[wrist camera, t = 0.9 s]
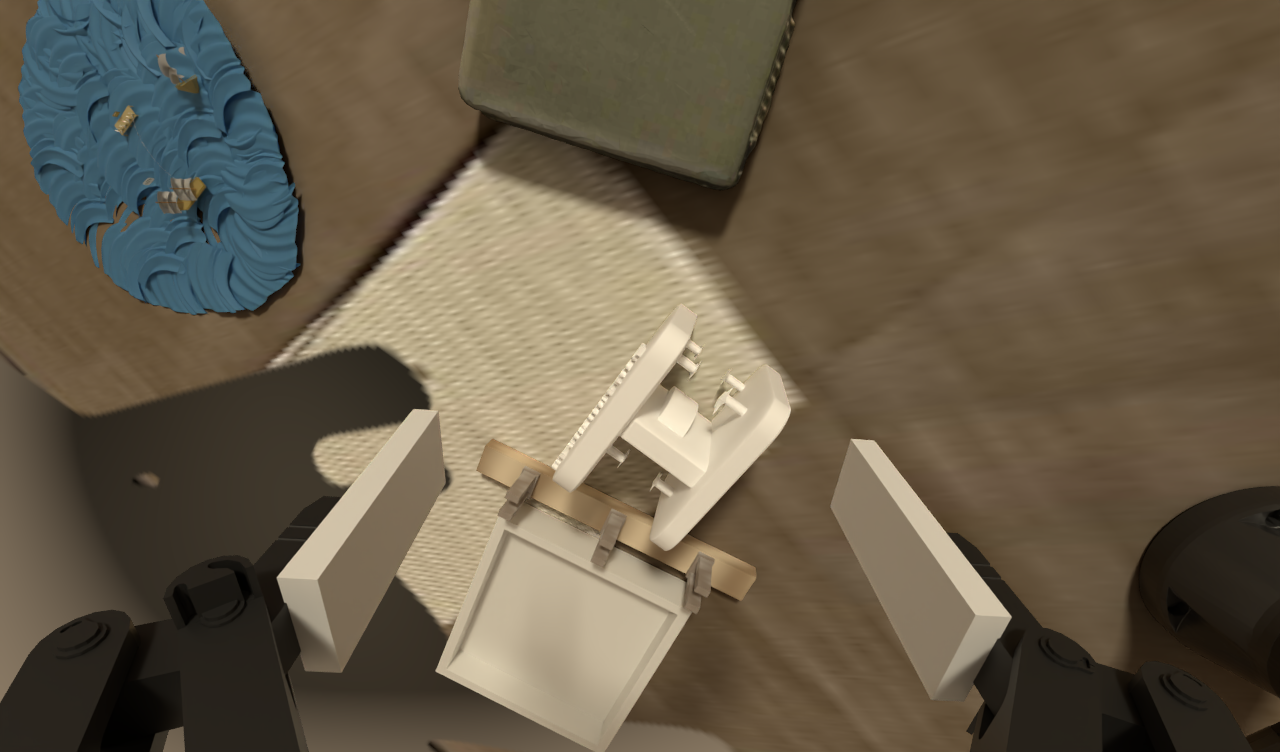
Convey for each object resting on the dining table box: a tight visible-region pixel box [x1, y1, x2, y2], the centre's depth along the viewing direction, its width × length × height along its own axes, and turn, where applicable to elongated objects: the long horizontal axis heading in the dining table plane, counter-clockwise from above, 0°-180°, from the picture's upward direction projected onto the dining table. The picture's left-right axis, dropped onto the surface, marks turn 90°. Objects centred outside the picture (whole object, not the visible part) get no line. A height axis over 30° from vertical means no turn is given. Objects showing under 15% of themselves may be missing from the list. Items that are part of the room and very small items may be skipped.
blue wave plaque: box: [18, 0, 301, 315], centre depth 45 cm, size 30×30×5 cm
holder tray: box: [436, 502, 692, 752], centre depth 52 cm, size 20×22×4 cm
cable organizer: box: [551, 304, 791, 551], centre depth 39 cm, size 15×11×12 cm
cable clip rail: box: [476, 439, 756, 614], centre depth 46 cm, size 28×3×6 cm, turn 66°
